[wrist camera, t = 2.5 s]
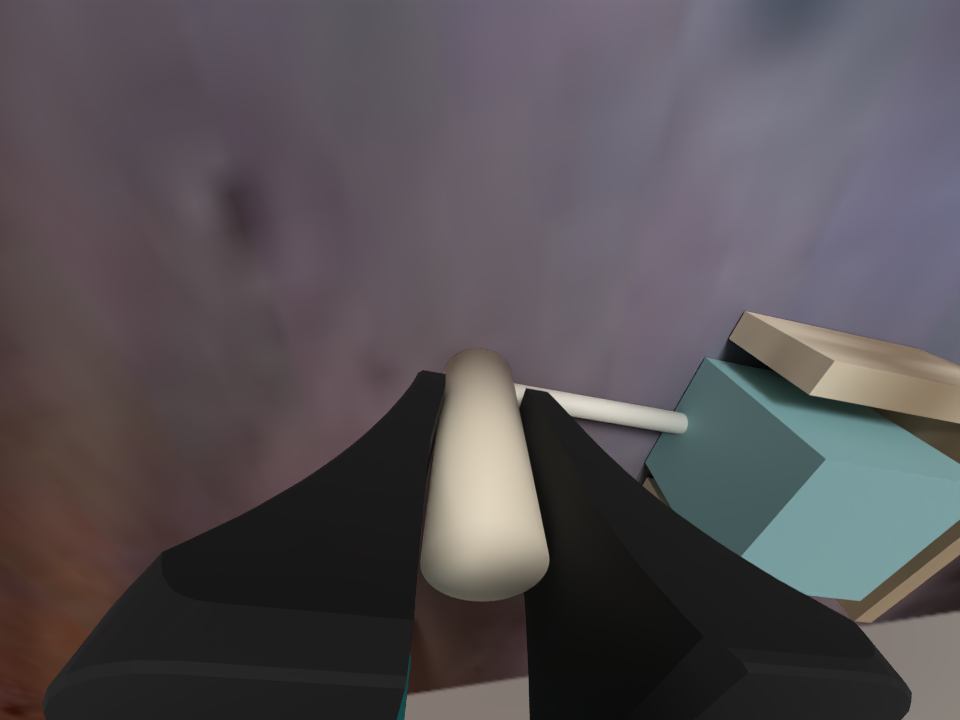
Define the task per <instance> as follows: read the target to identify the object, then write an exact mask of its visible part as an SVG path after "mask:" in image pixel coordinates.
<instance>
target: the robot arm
mask: <svg viewBox="0 0 960 720" xmlns="http://www.w3.org/2000/svg"><path fill="white" fill-rule="evenodd" d="M445 385H446V374H442V373H436V372H430V371H424V370H422V371H421V372H419V373H418V374H417V376H416V378H415V380H414V381H413V383H412V384H411V386H410V387H409V388H408V390H407V391H406V392H405V393H404V395H403V396H402V397H401V398H400V399H399V400H398V402H397V403H396V404H395V405H394V406H393V407H392V408H391V409H390V411H389V412H388V413H387V414H386V415H385V416H384V417H383V418H381V419H380V420H379V421H378V422H377V423H376V424H375V425H374V426H373V427H372V428H371V429H370V430H369V431H368V432H367V433H366V434H364V435H363V436H362V437H361V438H360V439H359V440H357V441H356V442H355V443H354V444H353V445H351V446H350V447H349V448H347V449H346V450H345V451H344V452H342V453H341V454H340V455H338V456H337V457H336V458H334V459H333V460H331V461H330V462H328V463H327V464H326V465H324V466H323V467H321V468H320V469H319V470H317V471H316V472H314V473H313V474H311V475H310V476H308V477H307V478H305V479H303V480H302V481H300V482H299V483H297V484H295V485H294V486H292V487H290V488H288V489H287V490H285V491H283V492H281V493H280V494H278V495H276V496H274V497H273V498H271V499H269V500H268V501H266V502H264V503H262V504H261V505H259V506H257V507H255V508H254V509H252V510H250V511H248V512H246V513H244V514H242V515H240V516H238V517H237V518H234V519H232V520H230V521H228V522H226V523H224V524H222V525H220V526H218V527H215V528H213V529H211V530H209V531H207V532H205V533H203V534H201V535H199V536H196V537H194V538H192V539H190V540H188V541H186V542H184V543H182V544H179V545H177V546H175V547H173V548H170V549H168V550H166V551H163V552H162V553H161V554H160V555H159V556H158V557H157V558H156V559H155V561H154V562H153V563H152V564H151V565H150V566H149V567H148V568H147V569H146V570H145V571H144V573H143V574H142V575H141V576H140V577H139V578H138V579H137V580H136V581H135V582H134V583H133V584H132V585H131V586H130V587H129V588H128V589H127V590H126V591H125V592H124V594H123V595H122V596H121V597H120V598H119V599H118V600H117V601H116V603H115V604H114V605H113V606H112V607H111V608H110V610H109V611H108V612H107V613H106V615H105V616H104V617H103V619H102V620H101V621H100V622H99V624H98V625H97V626H96V627H95V629H94V630H93V631H92V632H91V634H90V635H89V636H88V637H87V639H86V640H85V641H84V642H83V644H82V645H81V646H80V648H79V649H78V650H77V651H76V653H75V654H74V655H73V656H72V658H71V659H70V660H69V661H68V663H67V664H66V665H65V666H64V668H63V669H62V670H61V671H60V673H59V674H58V675H57V677H56V678H55V679H54V680H53V682H52V683H51V684H50V685H49V687H48V688H47V691H46V694H45V697H44V700H43V703H42V704H43V712H44V716H45V718H46V720H397V717H398V714H399V710H400V706H401V702H402V699H403V695H404V691H405V686H406V680H407V673H408V664H409V656H410V648H411V639H412V631H413V622H414V609H415V595H416V582H417V569H418V557H419V544H420V533H421V522H422V512H423V501H424V492H425V482H426V476H427V472H428V468H429V463H430V459H431V454H432V449H433V444H434V439H435V433H436V429H437V425H438V420H439V415H440V410H441V405H442V401H443V396H444V391H445ZM519 410H520V415H521V420H522V425H523V430H524V435H525V440H526V445H527V450H528V454H529V459H530V464H531V469H532V474H533V479H534V484H535V489H536V494H537V499H538V504H539V509H540V513H541V518H542V523H543V528H544V533H545V538H546V543H547V548H548V553H549V566H548V569H547V571H546V573H545V575H544V576H543V578H542V579H541V580H540V581H539V582H538V583H537V584H536V585H535V586H533V587H532V588H530V589H529V590H527V591H525V592H524V596H525V612H526V630H527V651H528V674H529V707H530V720H901V719H902V718H903V717H904V716H905V715H906V714H907V712H908V711H909V708H910V704H911V695H912V693H911V691H910V689H909V688H908V686H907V684H906V683H905V682H904V681H903V679H902V678H901V677H900V676H899V675H898V673H897V672H896V671H895V670H894V669H893V667H892V666H891V665H890V664H889V663H888V661H887V660H886V659H885V658H884V656H883V655H882V654H881V653H880V652H879V650H878V649H877V648H876V647H875V645H874V644H873V643H872V642H871V641H870V640H869V638H868V637H867V636H866V635H865V633H864V632H863V631H862V630H861V629H860V628H859V627H858V626H857V624H855V623H854V622H853V621H852V620H850V619H848V618H846V617H845V616H843V615H841V614H839V613H837V612H836V611H834V610H832V609H830V608H828V607H827V606H825V605H823V604H821V603H820V602H818V601H816V600H814V599H812V598H811V597H809V596H807V595H805V594H803V593H802V592H800V591H798V590H796V589H794V588H793V587H791V586H789V585H787V584H785V583H784V582H782V581H780V580H778V579H777V578H775V577H773V576H772V575H770V574H768V573H767V572H765V571H763V570H762V569H760V568H759V567H757V566H755V565H754V564H752V563H750V562H749V561H747V560H746V559H744V558H742V557H741V556H739V555H738V554H736V553H734V552H733V551H731V550H730V549H728V548H727V547H725V546H724V545H722V544H721V543H719V542H718V541H716V540H715V539H713V538H712V537H710V536H709V535H707V534H706V533H704V532H703V531H701V530H700V529H699V528H697V527H696V526H694V525H693V524H692V523H690V522H689V521H687V520H686V519H685V518H683V517H682V516H680V515H679V514H678V513H676V512H675V511H674V510H672V509H671V508H670V507H668V506H667V505H666V504H664V503H663V502H662V501H661V500H659V499H658V498H657V497H656V496H654V495H653V494H652V493H651V492H650V491H648V490H647V489H646V488H645V487H643V486H642V485H641V484H640V483H639V482H637V481H636V480H635V479H634V478H633V477H632V476H630V475H629V474H628V473H627V472H626V471H625V470H624V469H623V468H622V467H620V466H619V465H618V464H617V463H616V462H615V461H614V460H613V459H612V458H611V457H610V456H609V455H608V454H607V453H606V452H605V451H604V450H603V449H602V448H601V447H600V446H599V445H598V444H597V443H596V442H595V441H594V440H593V439H592V438H591V437H590V436H589V435H588V434H587V433H586V432H585V431H584V430H583V429H582V428H581V427H580V426H579V424H578V423H577V422H576V421H575V420H574V419H573V418H572V417H571V416H570V415H569V414H568V413H567V411H566V410H565V409H564V408H563V407H562V406H561V405H560V404H559V403H558V402H557V401H556V400H555V399H554V398H553V397H552V396H551V395H550V394H549V393H548V392H546V391H540V390H534V389H529V388H526V389H525V392H524V395H523V398H522V401H521V404H520V408H519Z"/></svg>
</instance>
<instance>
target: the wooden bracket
mask: <svg viewBox="0 0 960 720" xmlns="http://www.w3.org/2000/svg"><path fill="white" fill-rule="evenodd" d="M729 339H730V340H731V341H733V342H734V343H736V344H737V345H738V346H740V347H741V348H743V349H744V350H746V351H747V352H748V353H750V354H751V355H753V356H754V357H756V358H757V359H758V360H760V361H761V362H763V363H764V364H766V365H767V366H769V367H770V368H771V369H773V370H774V371H776V372H777V373H779V374H780V375H781V376H783V377H784V378H786V379H787V380H789V381H790V382H791V383H793V384H794V385H796V386H797V387H799V388H800V389H801V390H803V391H804V392H806V393H807V394H809V395H813V396H818V397H823V398H829V399H834V400H839V401H844V402H850V403H855V404H860V405H865V406H868V407H869V408H871V409H872V410H874V411H876V412H877V413H879V414H880V415H882V416H884V417H885V418H887V419H888V420H890V421H892V422H893V423H895V424H896V425H898V426H900V427H901V428H903V429H904V430H906V431H908V432H909V433H911V434H912V435H914V436H916V437H917V438H919V439H920V440H922V441H924V442H925V443H927V444H928V445H930V446H932V447H933V448H935V449H936V450H938V451H940V452H941V453H943V454H944V455H946V456H948V457H949V458H951V459H952V460H954V461H956V462H957V463H959V464H960V366H958V365H956V364H954V363H951V362H949V361H947V360H944V359H942V358H940V357H937V356H935V355H933V354H930V353H928V352H925V351H923V350H921V349H917V348H912V347H908V346H903V345H898V344H894V343H889V342H885V341H880V340H875V339H871V338H866V337H862V336H857V335H852V334H848V333H843V332H839V331H834V330H829V329H825V328H820V327H816V326H811V325H807V324H802V323H797V322H793V321H788V320H784V319H779V318H774V317H770V316H765V315H761V314H756V313H751V312H747V311H745V312H744V314H743V316H742V317H741V319H740V321H739V322H738V324H737V326H736V327H735V329H734V331H733V333H732V334H731V336H730V338H729ZM642 486H643V487H645V488H646V489H647V490H648V491H650V492H651V493H652V494H653V495H654V496H656V497H657V498H658V499H659V500H661V501H662V502H663V503H664V504H666V505H667V506H668V507H670V508H671V506H670V504H669V503H668V501H667V499H666V498H665V496H664V494H663V492H662V491H661V489H660V487H659V486H658V484H657V482H656V480H655V479H654V478H649V477H647V478H646V480H645V482H644V483H643V485H642ZM671 509H672V508H671ZM959 555H960V520H959V521H957V522H956V523H955V524H954V525H952V526H951V527H950V528H949V529H948V530H946V531H945V532H944V533H943V534H941V535H940V536H939V537H938V538H937V539H935V540H934V541H933V542H932V543H930V544H929V545H928V546H927V547H926V548H924V549H923V550H922V551H921V552H919V553H918V554H917V555H916V556H915V557H913V558H912V559H911V560H910V561H908V562H907V563H906V564H905V565H904V566H902V567H901V568H900V569H899V570H897V571H896V572H895V573H894V574H893V575H891V576H890V577H889V578H888V579H886V580H885V581H884V582H883V583H882V584H880V585H879V586H878V587H877V588H875V589H874V590H873V591H872V592H871V593H869V594H868V595H867V596H866V597H864V598H863V599H862V600H861V601H855V600H846V599H838V598H836V600H837V601H838V602H839V603H840V604H841V606H842V607H843V608H844V609H845V610H846V612H847V613H848V614H849V615H850V616H851V618H852V619H853V620H854V621H859V622H868V623H871V622H873V621H874V620H875V619H876V618H878V617H879V616H880V615H882V614H883V613H884V612H886V611H887V610H888V609H889V608H891V607H892V606H893V605H895V604H896V603H897V602H899V601H900V600H901V599H903V598H904V597H905V596H906V595H908V594H909V593H910V592H912V591H913V590H914V589H916V588H917V587H918V586H920V585H921V584H922V583H923V582H925V581H926V580H927V579H929V578H930V577H931V576H933V575H934V574H935V573H937V572H938V571H939V570H940V569H942V568H943V567H944V566H946V565H947V564H948V563H950V562H951V561H952V560H953V559H955V558H956V557H957V556H959Z"/></svg>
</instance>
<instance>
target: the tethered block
mask: <svg viewBox="0 0 960 720" xmlns="http://www.w3.org/2000/svg"><path fill="white" fill-rule="evenodd" d="M443 374H446V385H445V391H444V396H443V401H442V405H441V410H440V415H439V420H438V425H437V429H436V433H435V440H434V449H433V457H432V466H431V474H430V483H429V491H428V500H427V508H426V516H425V525H424V533H423V542H422V550H421V559H420V569H421V572H422V574H423V576H424V578H425V579H426V581H427V582H428V583H429V584H430V585H431V586H432V587H433V588H435V589H436V590H438V591H440V592H441V593H443V594H445V595H448V596H450V597H454V598H457V599H461V600H467V601H478V602H484V601H496V600H502V599H506V598H510V597H513V596H516V595H519V594H521V593H523V592H525V591H527V590H529V589H530V588H532V587H533V586H535V585H536V584H537V583H538V582H539V581H540V580H541V579H542V578H543V576H544V575H545V573H546V571H547V569H548V566H549V553H548V548H547V543H546V538H545V533H544V528H543V523H542V518H541V513H540V509H539V504H538V499H537V494H536V489H535V484H534V479H533V474H532V469H531V464H530V459H529V454H528V450H527V445H526V440H525V435H524V430H523V425H522V420H521V415H520V410H519V408H520V404H521V401H522V398H523V395H524V392H525V389H526V388H529V389H534V390H540V391H546V392H548V393H549V394H550V395H551V396H552V397H553V398H554V399H555V400H556V401H557V402H558V403H559V404H560V405H561V406H562V407H563V408H564V409H565V410H566V411H567V413H568V414H569V415H570V416H572V417H578V418H584V419H590V420H596V421H602V422H608V423H614V424H620V425H626V426H632V427H638V428H644V429H650V430H656V431H662V434H661V436H660V437H659V439H658V441H657V443H656V444H655V446H654V448H653V450H652V451H651V453H650V455H649V456H648V458H647V460H646V462H645V463H646V465H647V467H648V468H649V470H650V472H651V473H652V475H653V477H654V479H655V480H656V482H657V484H658V486H659V487H660V489H661V491H662V492H663V494H664V496H665V498H666V499H667V501H668V503H669V504H670V506H671V508H672V510H674V511H675V512H676V513H678V514H679V515H680V516H682V517H683V518H685V519H686V520H687V521H689V522H690V523H692V524H693V525H694V526H696V527H697V528H699V529H700V530H701V531H703V532H704V533H706V534H707V535H709V536H710V537H712V538H713V539H715V540H716V541H718V542H719V543H721V544H722V545H724V546H725V547H727V548H728V549H730V550H731V551H733V552H734V553H736V554H738V555H739V556H741V557H742V558H744V559H746V560H747V561H749V562H750V563H752V564H754V565H755V566H757V567H759V568H760V569H762V570H763V571H765V572H767V573H768V574H770V575H772V576H773V577H775V578H777V579H778V580H780V581H782V582H784V583H785V584H787V585H789V586H791V587H793V588H794V589H796V590H798V591H800V592H802V593H803V594H805V595H811V596H820V597H829V598H838V599H846V600H855V601H861V600H862V599H863V598H864V597H866V596H867V595H868V594H869V593H871V592H872V591H873V590H874V589H875V588H877V587H878V586H879V585H880V584H882V583H883V582H884V581H885V580H886V579H888V578H889V577H890V576H891V575H893V574H894V573H895V572H896V571H897V570H899V569H900V568H901V567H902V566H904V565H905V564H906V563H907V562H908V561H910V560H911V559H912V558H913V557H915V556H916V555H917V554H918V553H919V552H921V551H922V550H923V549H924V548H926V547H927V546H928V545H929V544H930V543H932V542H933V541H934V540H935V539H937V538H938V537H939V536H940V535H941V534H943V533H944V532H945V531H946V530H948V529H949V528H950V527H951V526H952V525H954V524H955V523H956V522H957V521H959V520H960V464H959V463H957V462H956V461H954V460H952V459H951V458H949V457H948V456H946V455H944V454H943V453H941V452H940V451H938V450H936V449H935V448H933V447H932V446H930V445H928V444H927V443H925V442H924V441H922V440H920V439H919V438H917V437H916V436H914V435H912V434H911V433H909V432H908V431H906V430H904V429H903V428H901V427H900V426H898V425H896V424H895V423H893V422H892V421H890V420H888V419H887V418H885V417H884V416H882V415H880V414H879V413H877V412H876V411H874V410H872V409H871V408H869V407H868V406H865V405H860V404H855V403H850V402H844V401H839V400H834V399H829V398H823V397H818V396H813V395H809V394H807V393H806V392H804V391H803V390H801V389H800V388H799V387H797V386H796V385H794V384H793V383H791V382H790V381H789V380H787V379H786V378H784V377H783V376H781V375H780V374H779V373H777V372H776V371H771V370H766V369H761V368H756V367H751V366H746V365H741V364H736V363H731V362H726V361H721V360H716V359H711V358H706V357H705V359H704V361H703V362H702V364H701V366H700V368H699V369H698V371H697V373H696V375H695V376H694V378H693V380H692V382H691V383H690V385H689V387H688V389H687V390H686V392H685V394H684V396H683V397H682V399H681V401H680V402H679V404H678V406H677V408H676V409H675V411H669V410H663V409H657V408H652V407H646V406H640V405H634V404H629V403H623V402H617V401H612V400H606V399H600V398H595V397H589V396H583V395H578V394H572V393H566V392H561V391H555V390H549V389H543V388H538V387H532V386H526V385H521V384H515V383H514V381H513V376H512V371H511V368H510V366H509V365H508V363H507V362H506V360H505V359H504V358H503V357H501V356H500V355H499V354H497V353H495V352H493V351H490V350H486V349H469V350H465V351H462V352H460V353H458V354H457V355H455V356H454V357H453V358H451V359H450V360H449V362H448V363H447V364H446V366H445V368H444V370H443Z"/></svg>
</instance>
